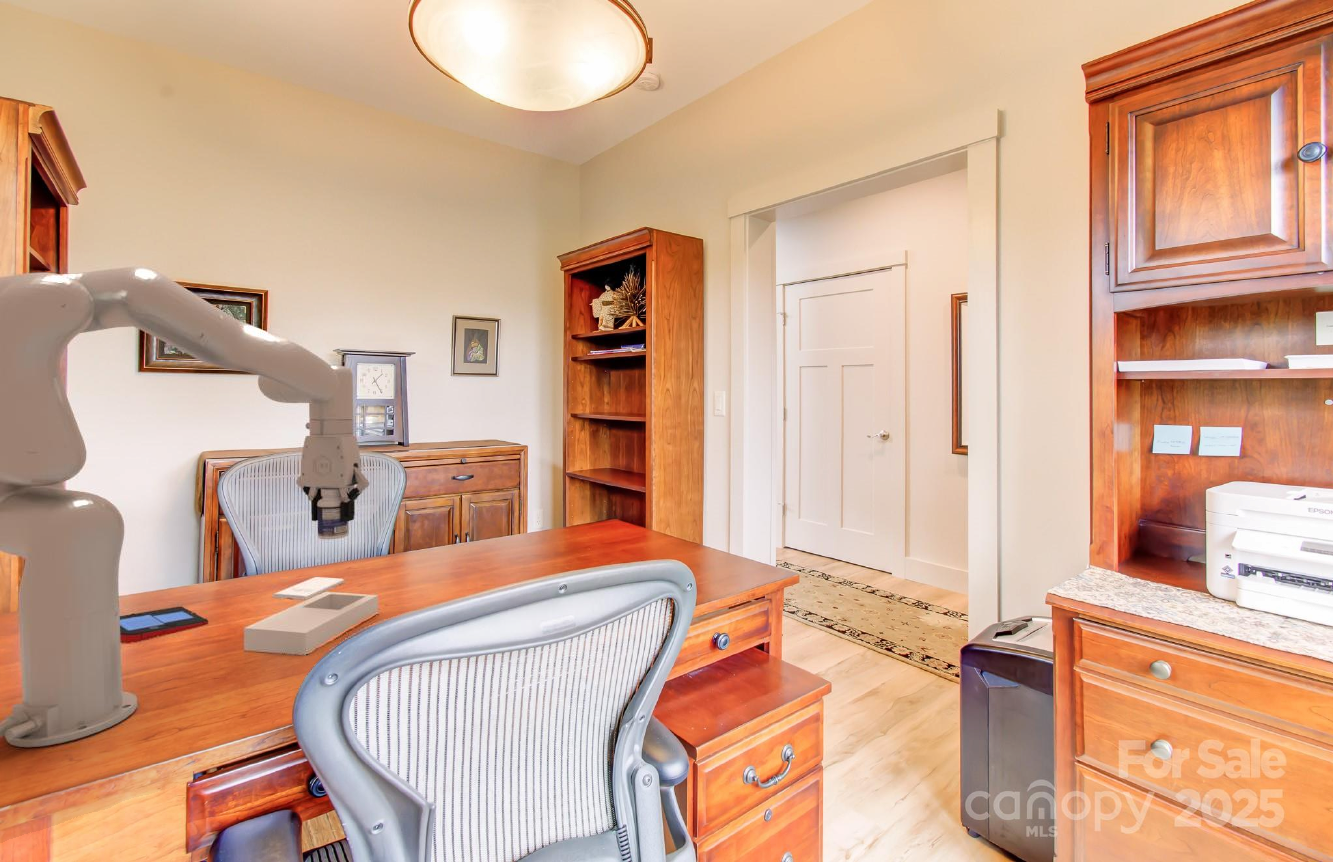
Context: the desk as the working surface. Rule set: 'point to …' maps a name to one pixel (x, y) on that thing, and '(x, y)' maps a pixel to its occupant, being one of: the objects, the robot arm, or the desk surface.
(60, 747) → the desk surface
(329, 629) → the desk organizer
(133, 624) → the game console
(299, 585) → the external hard drive
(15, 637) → the desk surface
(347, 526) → the pill bottle
